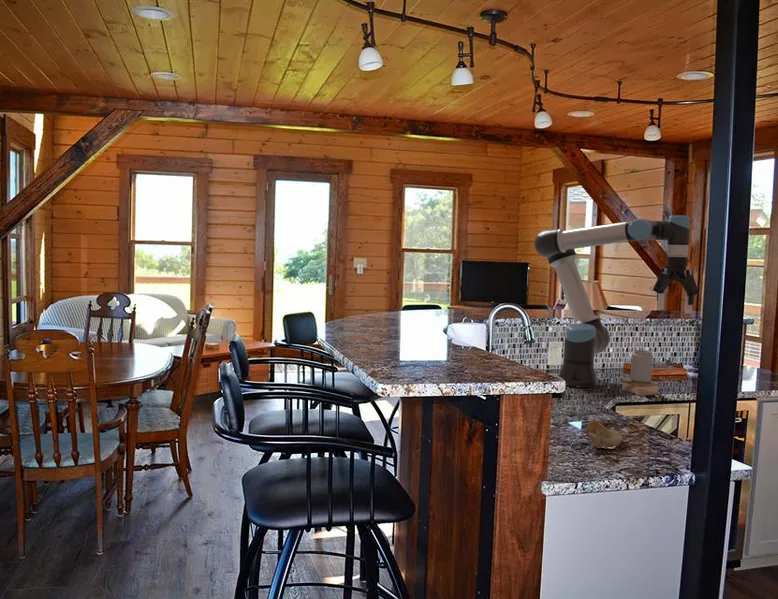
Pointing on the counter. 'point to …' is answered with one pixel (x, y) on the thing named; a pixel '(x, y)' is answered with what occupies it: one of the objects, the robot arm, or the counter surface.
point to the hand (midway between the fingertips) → (673, 311)
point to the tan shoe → (603, 435)
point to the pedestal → (640, 387)
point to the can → (641, 366)
